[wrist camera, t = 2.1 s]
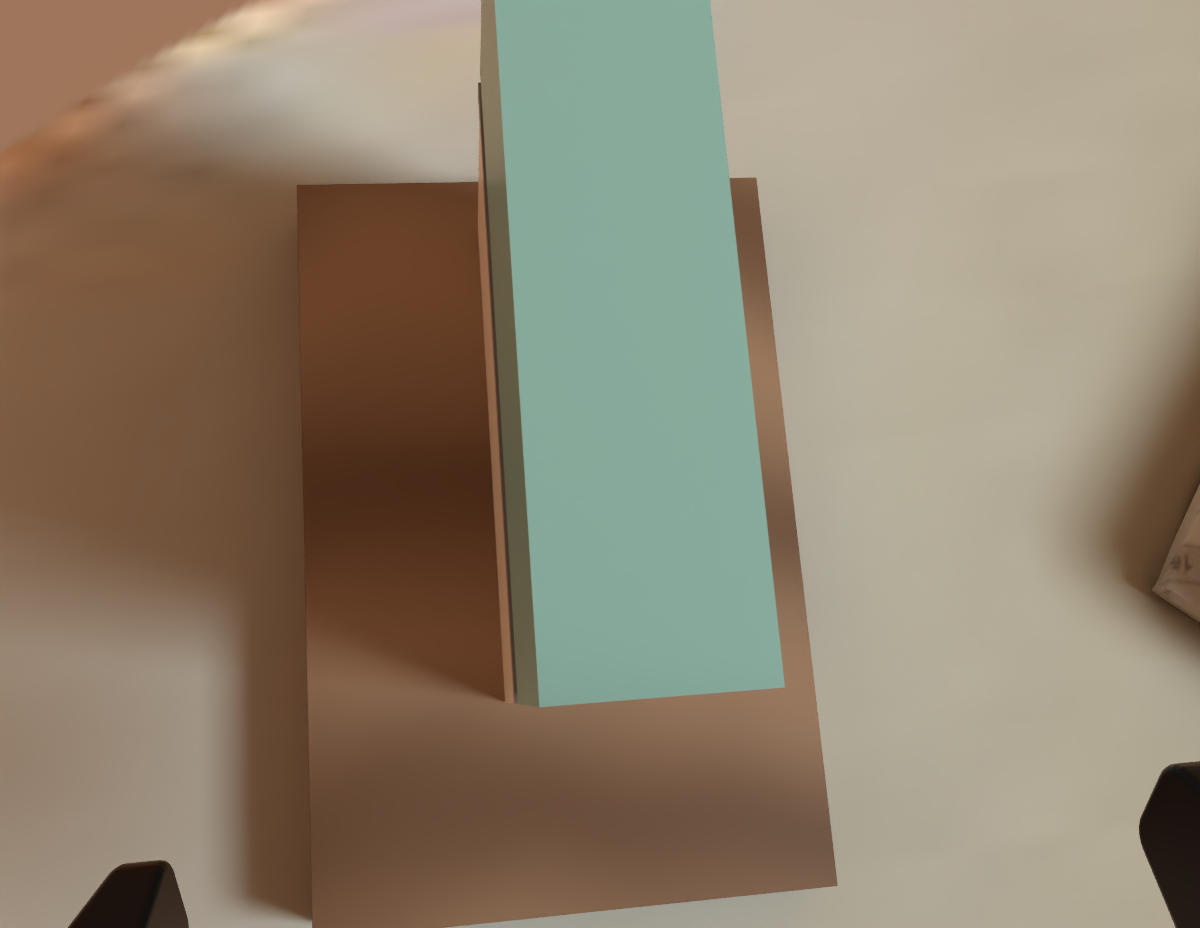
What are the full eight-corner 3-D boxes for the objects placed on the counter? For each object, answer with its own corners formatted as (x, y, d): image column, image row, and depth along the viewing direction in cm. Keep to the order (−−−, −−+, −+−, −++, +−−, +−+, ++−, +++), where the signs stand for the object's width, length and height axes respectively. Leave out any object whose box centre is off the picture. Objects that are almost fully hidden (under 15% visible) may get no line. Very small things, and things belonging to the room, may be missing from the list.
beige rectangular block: (632, 691, 21) (687, 690, 16) (503, 702, 21) (514, 704, 16) (594, 222, 23) (631, 81, 18) (476, 225, 23) (478, 82, 18)
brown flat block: (813, 873, 22) (837, 885, 21) (323, 924, 21) (312, 941, 20) (739, 207, 25) (755, 177, 24) (307, 216, 24) (296, 185, 23)
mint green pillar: (689, 690, 16) (785, 687, 11) (518, 704, 15) (539, 706, 11) (632, 72, 18) (692, -158, 13) (480, 72, 17) (484, -164, 13)
